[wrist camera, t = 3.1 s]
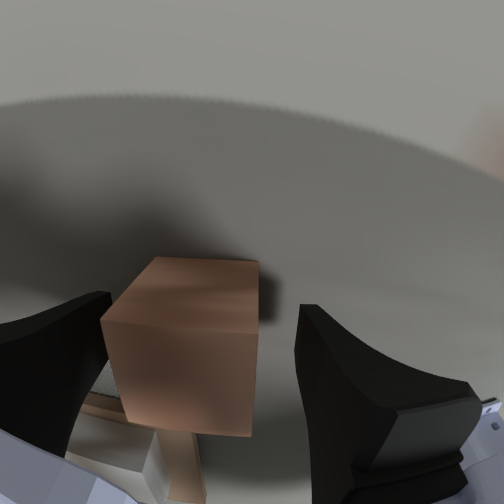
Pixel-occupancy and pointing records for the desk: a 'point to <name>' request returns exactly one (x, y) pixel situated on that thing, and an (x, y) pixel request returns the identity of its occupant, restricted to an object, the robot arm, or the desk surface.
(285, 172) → the desk surface
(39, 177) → the desk surface
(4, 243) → the desk surface
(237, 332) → the terracotta block
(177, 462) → the plate
